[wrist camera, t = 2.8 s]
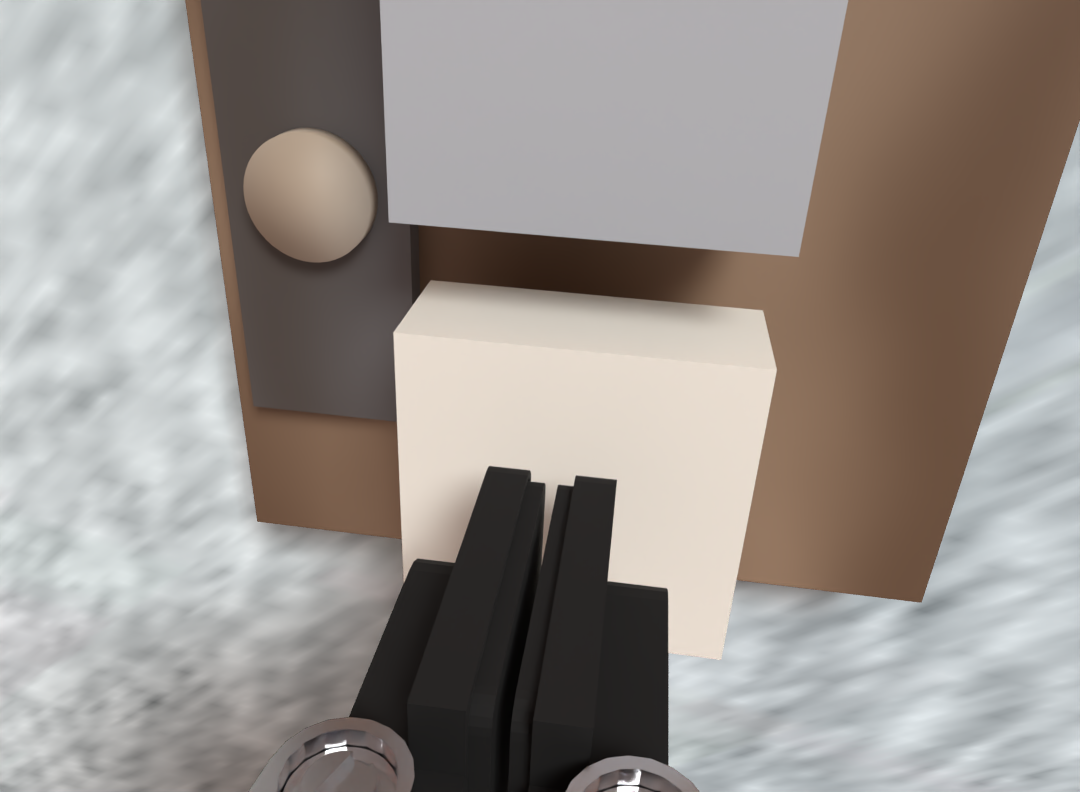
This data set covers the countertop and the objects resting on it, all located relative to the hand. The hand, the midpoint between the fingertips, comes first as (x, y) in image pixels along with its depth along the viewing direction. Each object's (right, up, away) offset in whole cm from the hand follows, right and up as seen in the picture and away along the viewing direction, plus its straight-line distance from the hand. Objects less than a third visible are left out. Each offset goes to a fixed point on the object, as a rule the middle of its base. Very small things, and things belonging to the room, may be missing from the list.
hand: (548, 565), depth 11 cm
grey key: (+1, +7, 0) cm, 7 cm away
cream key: (+1, +2, +3) cm, 3 cm away
